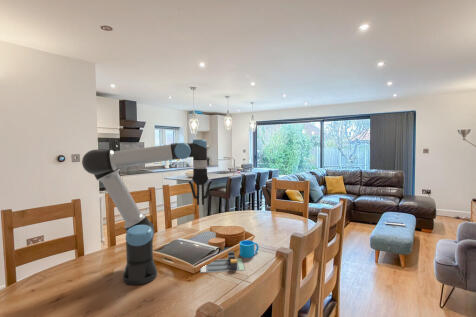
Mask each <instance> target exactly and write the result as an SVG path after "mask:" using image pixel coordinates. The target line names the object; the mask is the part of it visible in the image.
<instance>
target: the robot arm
mask: <svg viewBox="0 0 476 317" xmlns="http://www.w3.org/2000/svg"><path fill="white" fill-rule="evenodd" d="M207 145H208V143H207V140H206V139H193V140H192V142H187V143H186V142H179V143H178V142H174V143H173V142H172V143H170V144H163V145H157V146H156V145H155V146H148V147H139V148H132V149H124V150H115V151H114V150H113V149H106V148H99V149H98V148H97V149H92V150H91V149H90V150H89V151H87V152H86V153H84V155H83V157H82V160H81V164H82V168H83V169H84V170H85V171H86V172H87V173H88V174H91V175H93V176H94V177H95V179H96V180H97V181H98V182H101V183H102V184H103V186H104V188H105V190H106V192H107V194H108V196H109V197H110V198H111V200H112V202H113V203H114V204H113V205H115V207H116V209H117V211H118V212H119V214H120V215H121V218H122V219H123V221H124V222H125V225H124V226H123V227H124V230H125V231H126V233H125V242H126V243H125V244H126V246H125V247H126V250H125V251H126V264H125V267H124V271H123V273H122V274H123V275H122V281H123V283H124V284H126V285H130V286H140V285H145V284H149V283H150V282H152V281H154V280H155V279H156V278H157V276H158V269H157V266H156V263H155V262H154V246H153V245H154V244H153V243H154V236H155V227H154V226H155V225H154V224H153V223H152V222H151V221H150V220H149V219H148V217H147V215H146V214H143V213H142V212H141V211H140V208H139V207H138V205H137V203H136V202H135V200H134V198H133V196H132V194H131V193H130V191H129V190H128V187H127V186H126V184H125V182H124V180H123V179H122V177H121V175H120V170H121V168H125V167H133V166H141V165H146V164H154V163H160V162H166V161H175V160H185V159H188V158H192V167H193V169H192V173H193V174H192V178H191V179H190V180H188V185H189V186H190V189H191V192H192V196H193V199H196V204H197V206H198V210H199V213H200V212H203V206H204V205H205V199H207V198H208V195H209V191H210V186H211V184H212V182H213V181H212V180H211V179H210V178H209V177H208V146H207ZM206 183H207V187H206V191H205V185H206ZM194 184H195V185H196V191H195V188H194V187H195V186H194ZM200 186H201V198H200Z"/></svg>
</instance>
